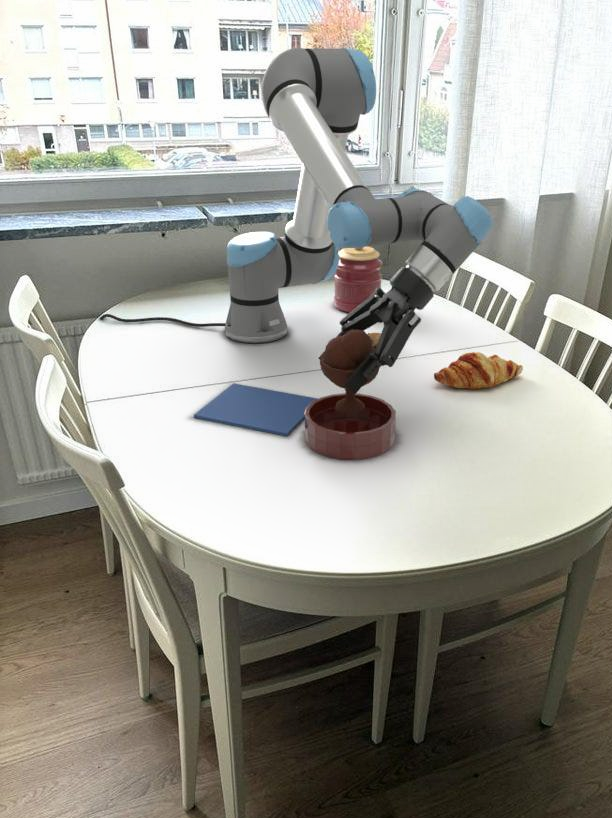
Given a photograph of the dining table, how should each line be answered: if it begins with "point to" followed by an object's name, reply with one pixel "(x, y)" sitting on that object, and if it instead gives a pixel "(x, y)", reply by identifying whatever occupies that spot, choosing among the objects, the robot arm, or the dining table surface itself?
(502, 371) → the croissant
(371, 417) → the pot
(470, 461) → the dining table surface
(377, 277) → the kitchen canister
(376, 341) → the open sandwich
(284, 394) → the cloth
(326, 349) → the ice cream bowl
